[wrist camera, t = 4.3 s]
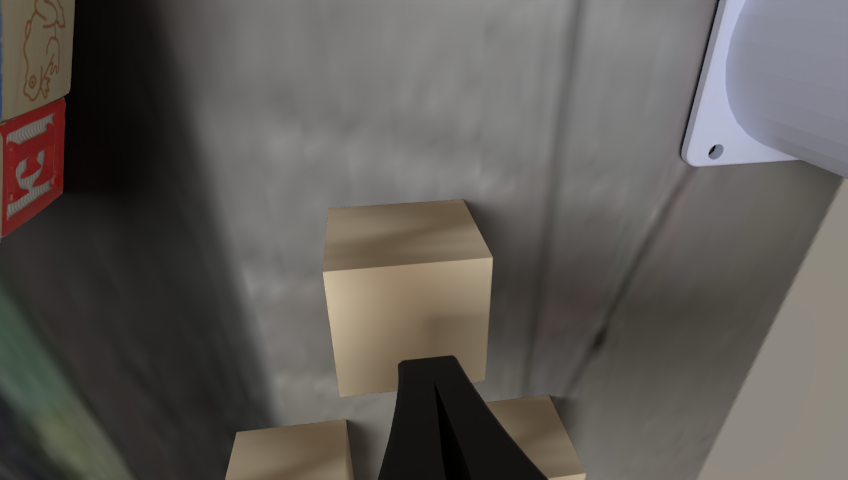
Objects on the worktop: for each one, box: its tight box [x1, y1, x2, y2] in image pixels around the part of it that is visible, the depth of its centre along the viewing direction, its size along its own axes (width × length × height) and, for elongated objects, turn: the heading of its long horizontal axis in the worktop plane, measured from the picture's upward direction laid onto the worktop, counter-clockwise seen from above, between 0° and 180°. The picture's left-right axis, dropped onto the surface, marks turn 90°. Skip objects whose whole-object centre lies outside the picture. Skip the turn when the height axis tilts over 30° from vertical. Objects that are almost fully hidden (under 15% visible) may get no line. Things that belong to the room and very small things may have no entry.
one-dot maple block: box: [485, 395, 586, 480], centre depth 21 cm, size 4×4×4 cm
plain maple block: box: [323, 199, 493, 397], centre depth 15 cm, size 4×4×4 cm
